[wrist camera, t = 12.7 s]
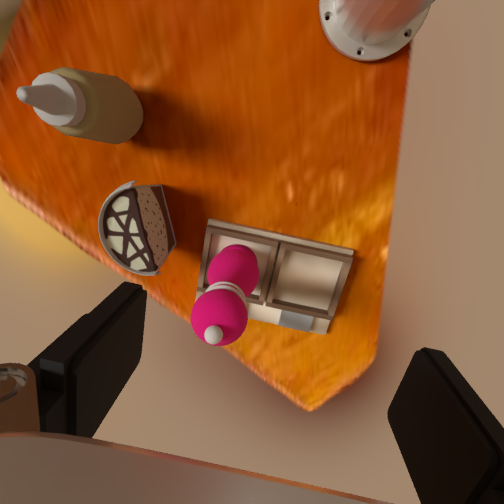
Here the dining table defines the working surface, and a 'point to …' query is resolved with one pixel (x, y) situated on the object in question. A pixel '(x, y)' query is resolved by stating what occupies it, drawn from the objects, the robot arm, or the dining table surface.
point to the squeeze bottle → (85, 104)
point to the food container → (137, 228)
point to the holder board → (284, 275)
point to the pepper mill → (226, 296)
